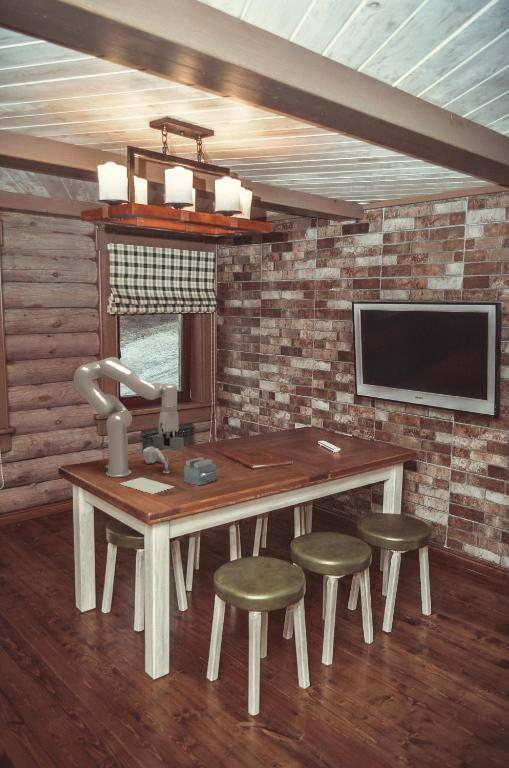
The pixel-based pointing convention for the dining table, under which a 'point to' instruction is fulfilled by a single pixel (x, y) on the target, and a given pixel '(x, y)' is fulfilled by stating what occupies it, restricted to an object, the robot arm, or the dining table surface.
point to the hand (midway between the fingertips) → (168, 444)
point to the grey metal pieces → (197, 471)
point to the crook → (174, 442)
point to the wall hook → (152, 455)
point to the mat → (146, 485)
